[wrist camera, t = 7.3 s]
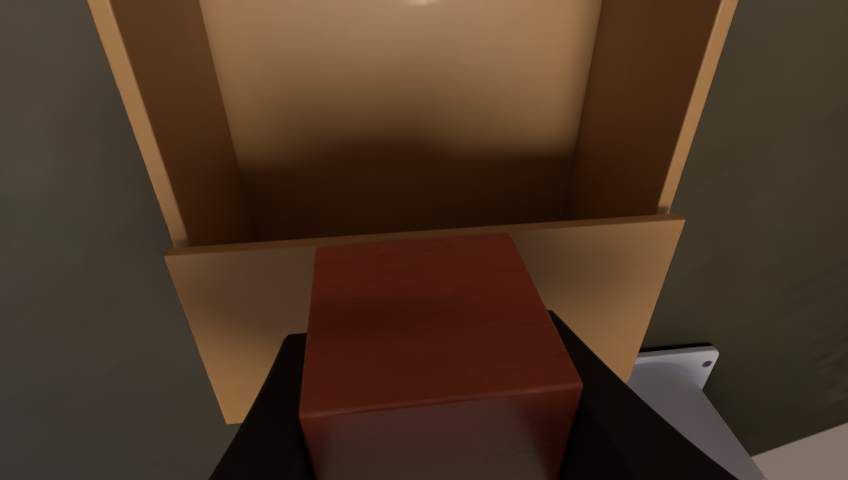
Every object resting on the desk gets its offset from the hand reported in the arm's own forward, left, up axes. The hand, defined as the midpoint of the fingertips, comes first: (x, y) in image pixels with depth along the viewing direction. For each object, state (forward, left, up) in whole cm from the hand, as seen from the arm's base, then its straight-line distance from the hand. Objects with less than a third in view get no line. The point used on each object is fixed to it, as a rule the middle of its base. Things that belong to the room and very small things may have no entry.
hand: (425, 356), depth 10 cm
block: (0, 0, -1) cm, 1 cm away
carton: (+1, -1, -9) cm, 10 cm away
